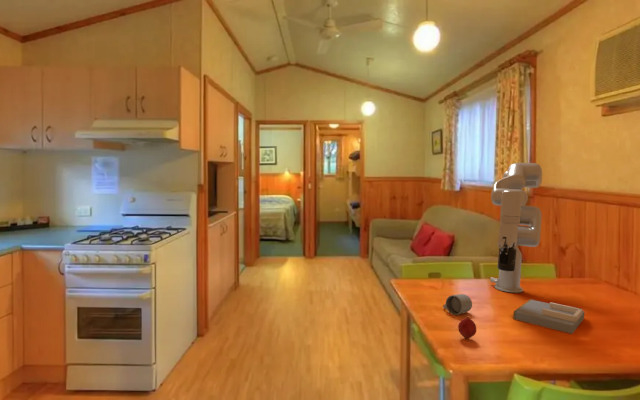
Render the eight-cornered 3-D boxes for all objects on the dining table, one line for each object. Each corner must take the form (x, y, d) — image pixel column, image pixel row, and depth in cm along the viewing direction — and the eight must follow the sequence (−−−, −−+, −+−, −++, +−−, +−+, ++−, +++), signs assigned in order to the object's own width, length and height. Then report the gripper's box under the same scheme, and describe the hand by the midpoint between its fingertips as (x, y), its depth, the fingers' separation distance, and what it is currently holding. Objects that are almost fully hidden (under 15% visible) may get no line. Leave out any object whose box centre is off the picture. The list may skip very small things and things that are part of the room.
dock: (513, 318, 162) (514, 306, 161) (529, 306, 178) (530, 294, 177) (572, 333, 148) (573, 320, 148) (584, 318, 165) (585, 306, 164)
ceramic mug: (473, 313, 166) (474, 294, 165) (461, 317, 161) (462, 298, 160) (450, 306, 174) (451, 288, 174) (438, 310, 169) (439, 291, 169)
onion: (454, 335, 143) (456, 312, 142) (470, 335, 143) (472, 312, 143) (461, 342, 137) (463, 319, 137) (478, 342, 138) (480, 319, 137)
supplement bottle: (517, 272, 169) (519, 243, 168) (499, 270, 171) (501, 242, 170) (512, 268, 176) (515, 240, 175) (495, 267, 177) (497, 239, 176)
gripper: (507, 217, 181) (504, 257, 182) (492, 220, 168) (489, 263, 169) (526, 219, 176) (522, 261, 177) (512, 222, 163) (509, 267, 164)
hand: (506, 262), depth 173 cm, fingers closed on supplement bottle, 6 cm apart
